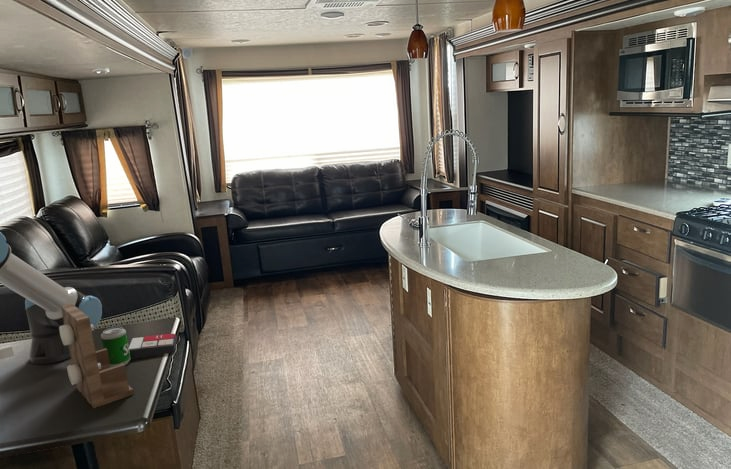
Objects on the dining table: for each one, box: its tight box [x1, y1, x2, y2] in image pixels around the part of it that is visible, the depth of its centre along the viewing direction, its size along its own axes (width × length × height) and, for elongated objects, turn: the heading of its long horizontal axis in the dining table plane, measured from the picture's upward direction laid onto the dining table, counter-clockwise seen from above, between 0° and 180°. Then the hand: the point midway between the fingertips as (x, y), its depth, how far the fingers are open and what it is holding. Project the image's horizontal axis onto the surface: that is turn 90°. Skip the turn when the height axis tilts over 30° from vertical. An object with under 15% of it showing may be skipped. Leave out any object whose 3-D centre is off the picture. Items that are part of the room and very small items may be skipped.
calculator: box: [128, 333, 178, 361], centre depth 197 cm, size 11×4×15 cm
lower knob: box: [66, 363, 101, 386], centre depth 165 cm, size 6×8×6 cm
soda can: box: [100, 326, 131, 367], centre depth 186 cm, size 8×8×12 cm
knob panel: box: [61, 304, 134, 409], centre depth 166 cm, size 18×11×26 cm, turn 40°
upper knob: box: [59, 324, 95, 345], centre depth 162 cm, size 6×8×6 cm
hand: (12, 350), depth 152 cm, fingers closed
